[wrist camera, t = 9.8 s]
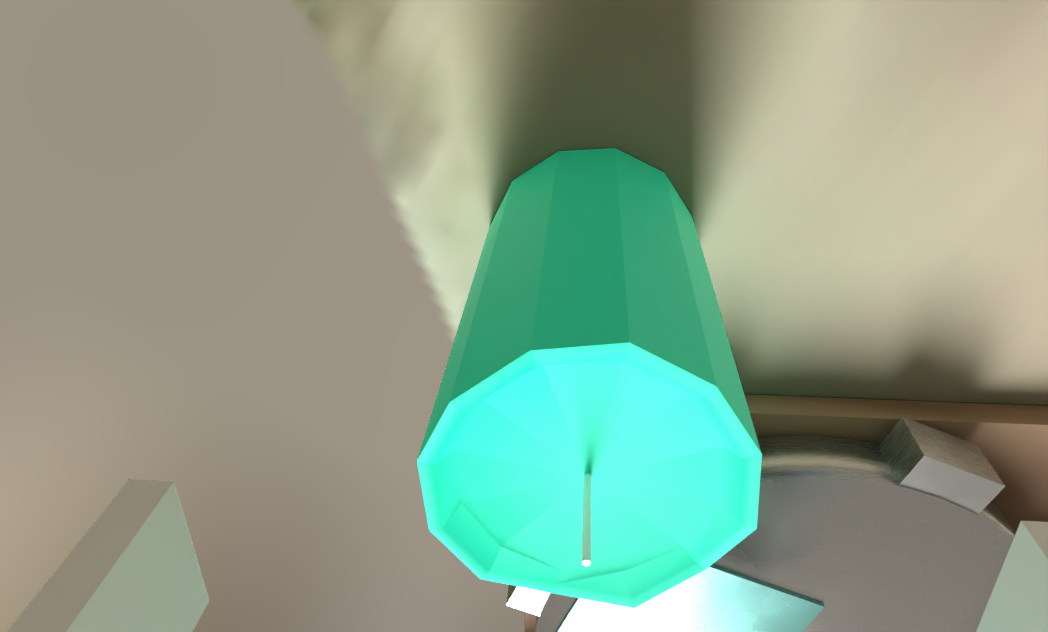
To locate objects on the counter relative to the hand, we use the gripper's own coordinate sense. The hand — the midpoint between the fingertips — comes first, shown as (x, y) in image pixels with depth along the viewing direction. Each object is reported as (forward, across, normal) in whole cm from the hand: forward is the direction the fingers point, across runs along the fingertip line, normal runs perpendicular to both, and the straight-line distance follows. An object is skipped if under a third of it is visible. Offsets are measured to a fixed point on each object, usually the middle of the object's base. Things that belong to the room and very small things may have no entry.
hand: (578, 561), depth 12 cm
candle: (+12, 0, 0) cm, 12 cm away
